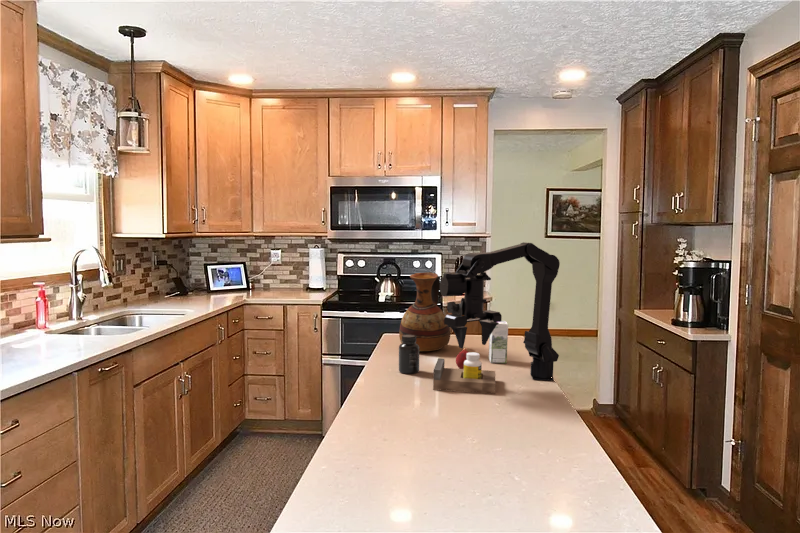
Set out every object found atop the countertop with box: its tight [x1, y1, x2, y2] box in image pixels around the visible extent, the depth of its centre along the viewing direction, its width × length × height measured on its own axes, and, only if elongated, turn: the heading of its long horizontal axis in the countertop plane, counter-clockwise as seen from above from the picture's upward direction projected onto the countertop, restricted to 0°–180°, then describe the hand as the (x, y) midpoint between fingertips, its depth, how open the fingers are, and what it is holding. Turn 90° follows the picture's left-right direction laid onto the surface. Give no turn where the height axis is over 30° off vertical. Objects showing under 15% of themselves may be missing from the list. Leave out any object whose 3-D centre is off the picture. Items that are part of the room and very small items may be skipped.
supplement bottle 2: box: [463, 351, 483, 379], centre depth 169 cm, size 5×5×10 cm
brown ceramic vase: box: [398, 271, 451, 352], centre depth 216 cm, size 20×20×30 cm
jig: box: [432, 357, 496, 395], centre depth 170 cm, size 18×14×6 cm
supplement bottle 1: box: [398, 335, 420, 375], centre depth 183 cm, size 7×7×12 cm
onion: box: [455, 347, 469, 369], centre depth 184 cm, size 6×6×8 cm
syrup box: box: [488, 320, 509, 364], centre depth 198 cm, size 6×6×14 cm
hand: (472, 346), depth 169 cm, fingers open, 9 cm apart
